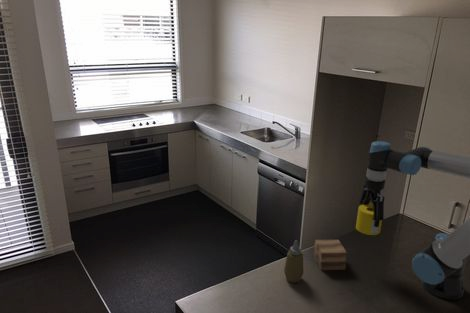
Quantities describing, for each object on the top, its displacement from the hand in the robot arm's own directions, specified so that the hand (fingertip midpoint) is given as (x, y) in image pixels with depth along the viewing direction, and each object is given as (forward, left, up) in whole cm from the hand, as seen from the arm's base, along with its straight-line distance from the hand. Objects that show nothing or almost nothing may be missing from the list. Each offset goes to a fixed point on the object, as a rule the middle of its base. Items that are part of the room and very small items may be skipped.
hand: (368, 226), depth 156 cm
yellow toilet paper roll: (0, 0, -2) cm, 2 cm away
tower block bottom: (+3, +14, -20) cm, 25 cm away
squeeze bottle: (-7, +34, -20) cm, 40 cm away
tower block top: (+3, +15, -16) cm, 22 cm away
